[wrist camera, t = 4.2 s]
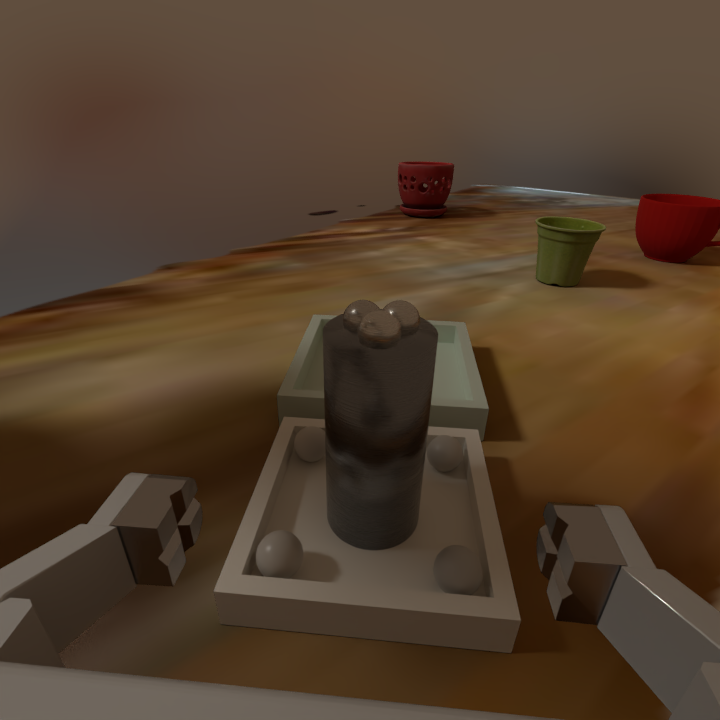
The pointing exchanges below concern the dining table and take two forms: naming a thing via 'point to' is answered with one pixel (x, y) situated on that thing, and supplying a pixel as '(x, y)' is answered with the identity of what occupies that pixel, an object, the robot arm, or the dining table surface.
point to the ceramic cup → (676, 225)
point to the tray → (372, 554)
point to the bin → (450, 385)
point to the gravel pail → (376, 420)
